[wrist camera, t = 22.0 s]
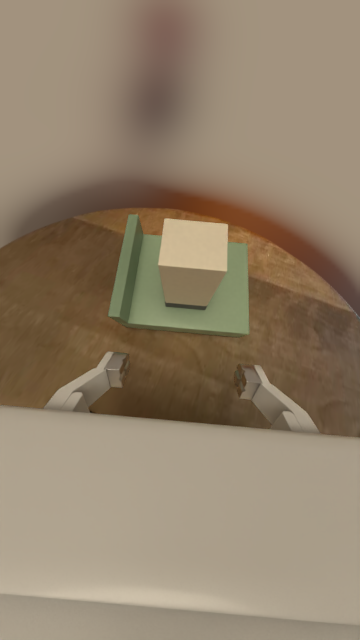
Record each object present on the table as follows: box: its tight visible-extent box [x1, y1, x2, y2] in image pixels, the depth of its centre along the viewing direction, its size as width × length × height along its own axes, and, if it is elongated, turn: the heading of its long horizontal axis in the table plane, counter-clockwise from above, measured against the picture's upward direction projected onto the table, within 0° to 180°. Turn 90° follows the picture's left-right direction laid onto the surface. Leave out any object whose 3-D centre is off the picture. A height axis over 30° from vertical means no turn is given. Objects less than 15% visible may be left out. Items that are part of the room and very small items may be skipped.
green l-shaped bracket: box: [108, 214, 249, 337], centre depth 20 cm, size 16×13×6 cm
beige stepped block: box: [158, 219, 228, 310], centre depth 16 cm, size 8×5×9 cm, turn 175°
